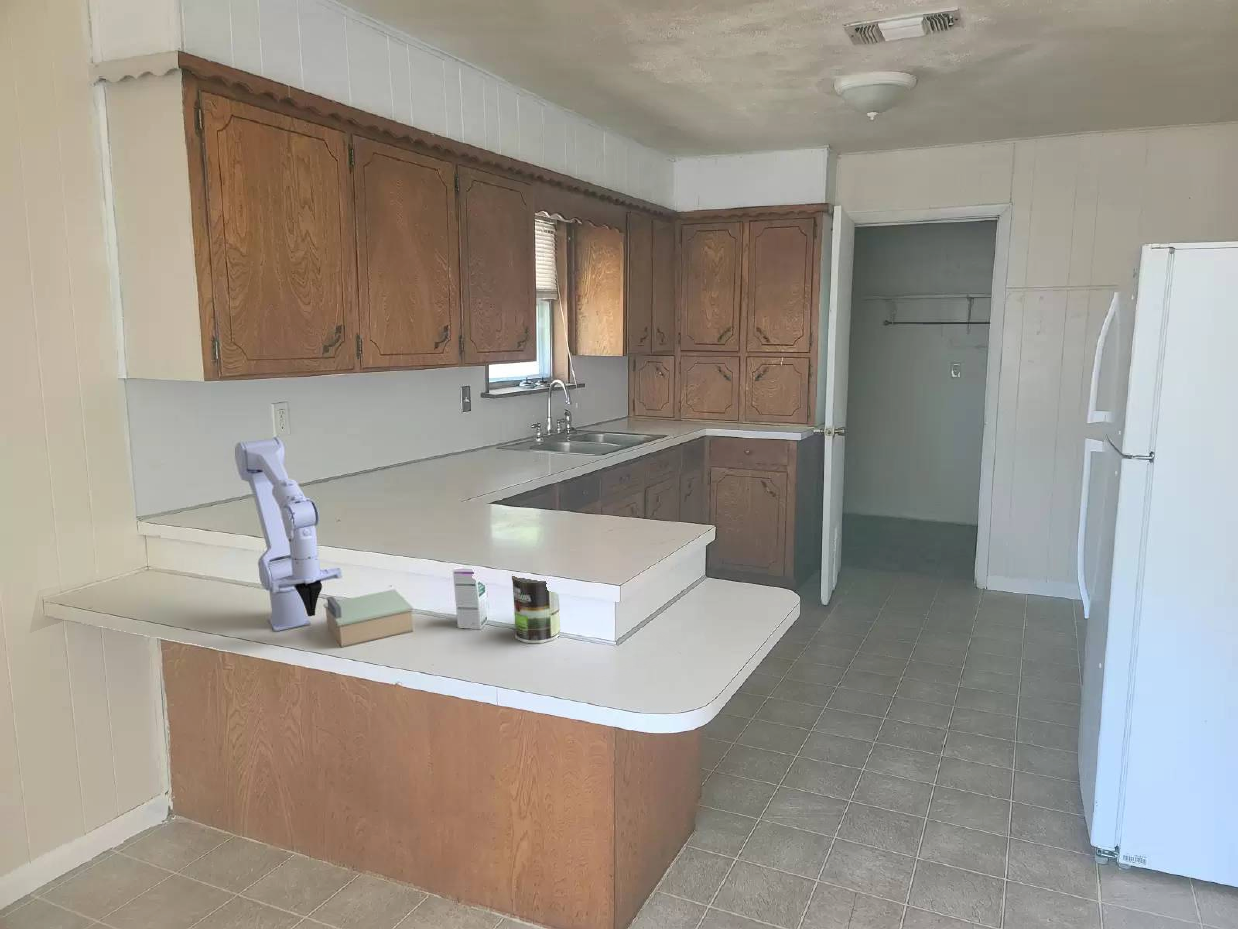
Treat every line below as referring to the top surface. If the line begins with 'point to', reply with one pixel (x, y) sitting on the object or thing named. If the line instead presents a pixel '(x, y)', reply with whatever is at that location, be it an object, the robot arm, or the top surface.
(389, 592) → the lid
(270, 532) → the robot arm
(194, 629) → the top surface
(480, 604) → the syrup box
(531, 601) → the coffee can
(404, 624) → the mailer box
